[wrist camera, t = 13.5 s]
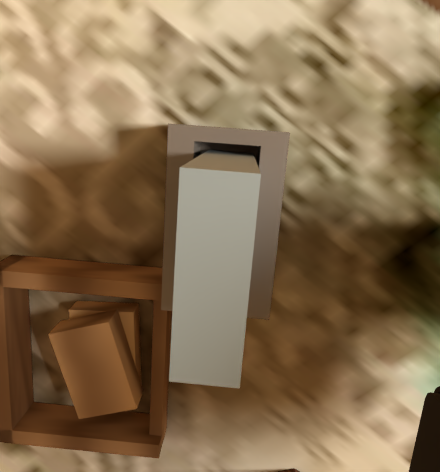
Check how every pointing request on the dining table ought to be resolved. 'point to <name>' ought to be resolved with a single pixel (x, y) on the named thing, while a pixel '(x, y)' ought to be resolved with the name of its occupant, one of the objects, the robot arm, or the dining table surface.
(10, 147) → the dining table surface
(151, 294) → the square wooden tray
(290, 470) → the book
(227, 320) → the panel
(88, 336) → the offcut top
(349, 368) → the dining table surface
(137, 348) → the offcut low
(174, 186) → the holder
